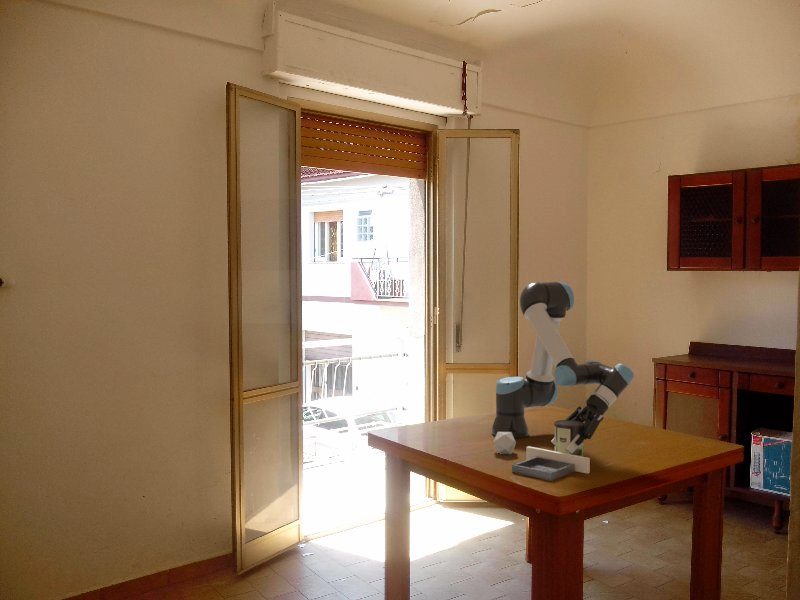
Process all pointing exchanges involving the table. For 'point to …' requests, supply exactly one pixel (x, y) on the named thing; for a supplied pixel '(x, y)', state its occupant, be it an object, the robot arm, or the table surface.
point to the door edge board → (560, 458)
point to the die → (504, 442)
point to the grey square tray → (543, 468)
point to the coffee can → (567, 436)
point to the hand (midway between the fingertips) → (561, 447)
